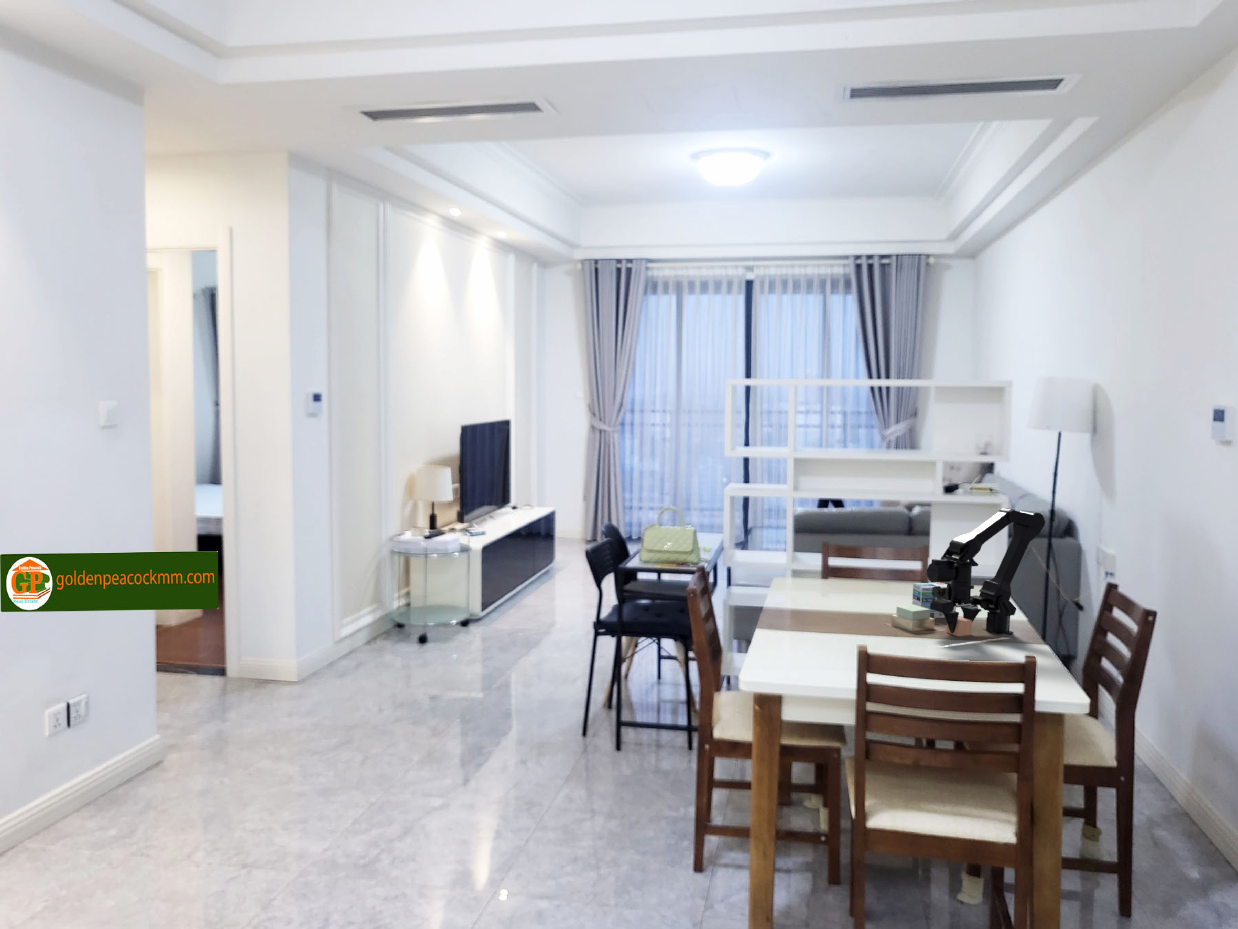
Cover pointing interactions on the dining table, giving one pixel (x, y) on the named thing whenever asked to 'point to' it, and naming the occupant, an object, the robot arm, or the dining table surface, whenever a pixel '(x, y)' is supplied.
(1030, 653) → the dining table surface
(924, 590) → the light bulb box
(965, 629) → the terracotta cube
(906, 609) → the sage block
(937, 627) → the walnut board
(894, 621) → the beech slab
